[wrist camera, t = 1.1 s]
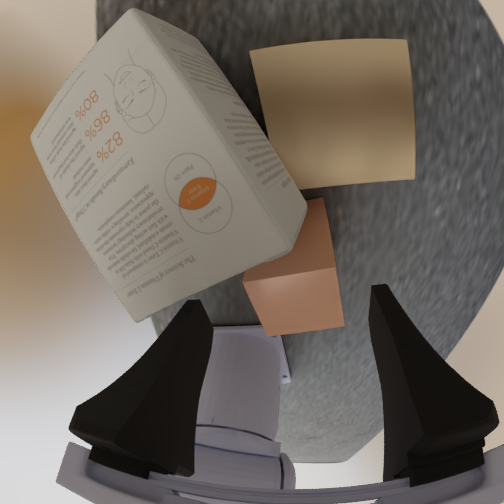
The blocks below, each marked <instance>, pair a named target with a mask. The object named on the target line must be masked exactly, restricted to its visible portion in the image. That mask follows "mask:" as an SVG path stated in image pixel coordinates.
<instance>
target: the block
mask: <svg viewBox="0 0 504 504" xmlns="http://www.w3.org/2000/svg"><path fill="white" fill-rule="evenodd" d="M306 203H307V206H308V207H307V212H306V215H305V218H304V220H303V223H302V226H301V228H300V231H299V233H298V236H297V239H296V241H295V244H294V246H293V249H292V250H291V251H290V252H289V253H287V254H285V255H283V256H281V257H279V258H276V259H274V260H272V261H269V262H263V263H261V264H259V265H257V266H254V267H252V268H250V269H248V270H246V271H244V276H243V281H242V283H243V285H244V288H245V290H246V292H247V294H248V296H249V298H250V300H251V303H252V305H253V307H254V309H255V311H256V313H257V315H258V318H259V320H260V322H261V324H262V326H263V328H264V330H265V332H266V335H267V336H276V335H285V334H294V333H301V332H309V331H316V330H323V329H330V328H337V327H343V326H345V325H344V317H343V309H342V301H341V293H340V286H339V279H338V272H337V266H336V259H335V253H334V248H333V242H332V237H331V232H330V227H329V222H328V217H327V212H326V207H325V202H324V198H323V197H321V198H316V199H311V200H306Z"/></svg>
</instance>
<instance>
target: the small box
mask: <svg viewBox="0 0 504 504" xmlns="http://www.w3.org/2000/svg"><path fill="white" fill-rule="evenodd" d="M30 138H31V142H32V144H33V147H34V149H35V152H36V154H37V156H38V158H39V161H40V163H41V165H42V167H43V169H44V172H45V174H46V176H47V178H48V180H49V182H50V184H51V186H52V188H53V190H54V192H55V194H56V196H57V198H58V200H59V202H60V204H61V206H62V208H63V210H64V211H65V213H66V215H67V217H68V219H69V220H70V222H71V224H72V226H73V228H74V230H75V231H76V233H77V235H78V236H79V238H80V240H81V242H82V243H83V245H84V246H85V248H86V250H87V251H88V253H89V254H90V256H91V258H92V259H93V261H94V263H95V264H96V266H97V267H98V269H99V270H100V272H101V273H102V275H103V277H104V278H105V280H106V281H107V282H108V284H109V286H110V287H111V289H112V290H113V292H114V293H115V295H116V296H117V297H118V299H119V300H120V302H121V303H122V304H123V306H124V307H125V309H126V310H127V311H128V313H129V314H130V316H131V317H132V318H133V320H134V321H135V322H137V323H138V322H140V321H142V320H144V319H146V318H148V317H150V316H151V315H152V314H153V313H155V312H157V311H159V310H162V309H164V308H166V307H168V306H170V305H172V304H174V303H176V302H179V301H181V300H183V299H185V298H187V297H189V296H192V295H194V294H196V293H198V292H200V291H202V290H205V289H207V288H209V287H211V286H213V285H215V284H218V283H220V282H222V281H224V280H226V279H228V278H231V277H233V276H235V275H237V274H239V273H242V272H244V271H246V270H248V269H250V268H252V267H254V266H257V265H259V264H261V263H263V262H269V261H272V260H274V259H276V258H279V257H281V256H283V255H285V254H287V253H289V252H290V251H291V250H292V249H293V246H294V244H295V241H296V239H297V236H298V233H299V231H300V228H301V226H302V223H303V220H304V218H305V215H306V212H307V207H308V206H307V203H306V201H305V200H304V198H303V196H302V194H301V193H300V191H299V189H298V188H297V186H296V184H295V183H294V181H293V179H292V177H291V176H290V174H289V173H288V171H287V169H286V168H285V166H284V164H283V163H282V161H281V160H280V158H279V156H278V155H277V153H276V152H275V150H274V148H273V147H272V145H271V144H270V142H269V140H268V139H267V137H266V136H265V134H264V133H263V131H262V129H261V128H260V126H259V125H258V123H257V121H256V120H255V118H254V117H253V115H252V114H251V113H250V111H249V110H248V108H247V107H246V105H245V104H244V102H243V101H242V100H241V98H240V97H239V95H238V94H237V92H236V91H235V89H234V88H233V87H232V85H231V84H230V82H229V81H228V79H227V78H226V76H225V75H224V74H223V72H222V71H221V69H220V68H219V67H218V65H217V64H216V63H215V61H214V60H213V59H212V57H211V56H210V55H209V53H208V52H207V51H206V49H205V48H204V47H203V45H202V44H201V43H200V41H199V40H198V39H197V38H196V37H194V36H192V35H190V34H188V33H186V32H185V31H183V30H181V29H179V28H177V27H175V26H173V25H171V24H169V23H167V22H165V21H163V20H161V19H159V18H157V17H155V16H152V15H150V14H148V13H145V12H143V11H141V10H138V9H136V8H130V9H129V10H128V11H127V12H126V13H125V14H124V15H123V16H122V17H121V18H120V19H119V20H118V21H117V22H116V23H115V24H114V25H113V26H112V27H111V28H110V29H109V30H108V31H107V32H106V33H105V34H104V35H103V36H102V38H101V39H100V40H99V41H98V42H97V43H96V44H95V45H94V47H93V48H92V49H91V50H90V51H89V52H88V54H87V55H86V56H85V57H84V59H83V60H82V61H81V62H80V63H79V65H78V66H77V67H76V68H75V70H74V71H73V73H72V74H71V75H70V76H69V78H68V79H67V80H66V82H65V83H64V84H63V86H62V87H61V89H60V90H59V92H58V93H57V94H56V96H55V97H54V99H53V100H52V102H51V103H50V105H49V106H48V108H47V110H46V111H45V113H44V114H43V116H42V118H41V119H40V121H39V123H38V124H37V126H36V127H35V129H34V131H33V133H32V134H31V137H30Z"/></svg>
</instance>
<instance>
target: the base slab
mask: <svg viewBox="0 0 504 504" xmlns="http://www.w3.org/2000/svg"><path fill="white" fill-rule="evenodd" d="M249 53H250V57H251V61H252V65H253V70H254V74H255V78H256V83H257V87H258V91H259V96H260V100H261V105H262V110H263V114H264V119H265V123H266V128H267V133H268V138H269V142H270V144H271V145H272V147H273V148H274V150H275V152H276V153H277V155H278V156H279V158H280V160H281V161H282V163H283V164H284V166H285V168H286V169H287V171H288V173H289V174H290V176H291V177H292V179H293V181H294V183H295V184H296V186H297V188H298V189H299V190H301V189H310V188H319V187H328V186H337V185H348V184H358V183H370V182H382V181H395V180H410V179H415V115H414V98H413V86H412V76H411V67H410V59H409V51H408V45H407V40H403V39H341V40H326V41H314V42H304V43H296V44H288V45H281V46H275V47H269V48H263V49H257V50H252V51H249Z"/></svg>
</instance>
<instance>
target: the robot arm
mask: <svg viewBox="0 0 504 504" xmlns="http://www.w3.org/2000/svg"><path fill="white" fill-rule="evenodd" d="M368 319H369V327H370V335H371V342H372V346H373V351H374V355H375V360H376V364H377V369H378V374H379V379H380V383H381V390H382V399H383V413H384V471H383V482H381V483H375V484H368V485H359V486H351V487H340V488H325V489H295V483H296V477H295V469H294V466H293V463H292V462H291V461H290V459H289V457H288V456H287V454H285V453H280V447H281V443H280V442H274V439H275V437H276V434H277V430H278V419H279V406H280V392H281V383H289V382H291V376H290V371H289V367H288V363H287V358H286V354H285V350H284V346H283V341H282V337H281V335H276V336H267V335H266V332H265V330H264V328H263V326H262V325H252V326H227V327H213V326H212V324H211V322H210V320H209V318H208V315H207V313H206V311H205V309H204V307H203V305H202V303H201V301H200V300H187V301H186V303H185V304H184V305H183V306H182V308H181V309H180V310H179V312H178V313H177V314H176V315H175V317H174V318H173V319H172V321H171V322H170V323H169V325H168V326H167V327H166V328H165V330H164V331H163V332H162V334H161V335H160V336H159V337H158V339H157V340H156V341H155V342H154V343H153V344H152V345H151V347H150V348H149V349H148V350H147V351H146V352H145V354H144V355H143V356H142V357H141V358H140V359H139V360H138V361H137V362H136V363H135V364H134V365H133V366H132V367H131V368H130V369H129V370H128V371H126V372H125V373H124V374H123V375H122V376H120V377H119V378H118V379H117V380H116V381H115V382H113V383H112V384H111V385H110V386H108V387H107V388H105V389H104V390H103V391H101V392H100V393H98V394H97V395H95V396H94V397H92V398H90V399H89V400H87V401H85V402H84V403H82V404H80V405H78V406H77V407H76V410H75V412H74V415H73V417H72V420H71V422H70V425H69V430H70V432H72V433H73V434H74V435H76V436H77V437H79V438H80V439H82V440H84V441H85V442H87V443H89V444H90V445H92V449H91V450H89V449H87V448H85V447H82V446H80V445H77V444H75V443H72V442H69V444H68V446H67V449H66V452H65V455H64V458H63V461H62V464H61V467H60V470H59V473H58V476H57V479H56V482H57V483H58V484H60V485H62V486H63V487H65V488H67V489H69V490H70V491H72V492H74V493H76V494H78V495H80V496H81V497H83V498H85V499H87V500H89V501H91V502H93V503H95V504H338V503H348V502H358V501H366V500H374V499H378V500H376V501H375V503H372V504H500V503H502V502H504V444H503V445H501V446H498V447H496V448H494V449H491V450H489V451H487V452H485V453H483V449H482V447H484V446H485V440H484V437H486V436H487V435H488V434H489V433H491V432H492V431H493V430H494V429H495V428H496V427H497V426H498V424H499V419H498V414H497V410H496V408H495V405H494V403H493V401H492V400H491V399H489V398H488V397H486V396H485V395H484V394H482V393H481V392H480V391H478V390H477V389H475V388H474V387H473V386H472V385H471V384H469V383H468V382H467V381H466V380H465V379H464V378H462V377H461V376H460V375H459V374H458V373H457V372H456V371H455V370H454V369H453V368H451V367H450V366H449V365H448V364H447V363H446V361H445V360H444V359H443V358H442V357H441V356H440V355H439V354H438V353H437V352H436V351H435V350H434V349H433V348H432V346H431V345H430V344H429V343H428V342H427V340H426V339H425V338H424V337H423V335H422V334H421V333H420V332H419V330H418V329H417V328H416V326H415V325H414V324H413V322H412V321H411V320H410V318H409V317H408V316H407V314H406V313H405V311H404V310H403V308H402V307H401V305H400V304H399V302H398V301H397V299H396V298H395V296H394V295H393V293H392V292H391V290H390V288H389V287H388V285H387V284H380V285H371V297H370V308H369V317H368Z"/></svg>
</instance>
